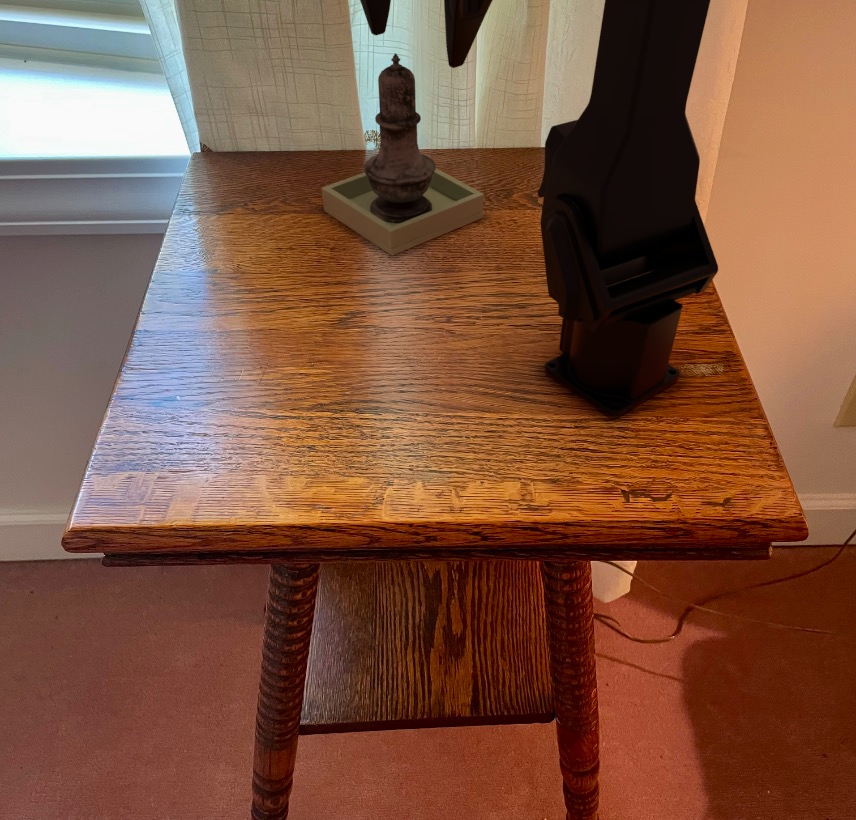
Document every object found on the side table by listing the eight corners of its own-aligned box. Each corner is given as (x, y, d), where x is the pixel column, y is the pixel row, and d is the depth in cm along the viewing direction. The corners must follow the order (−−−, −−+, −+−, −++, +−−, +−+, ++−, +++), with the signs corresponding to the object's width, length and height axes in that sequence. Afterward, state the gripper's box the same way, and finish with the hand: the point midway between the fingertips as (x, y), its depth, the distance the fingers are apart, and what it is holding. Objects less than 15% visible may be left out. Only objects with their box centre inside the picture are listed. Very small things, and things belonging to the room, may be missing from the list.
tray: (483, 217, 69) (484, 193, 68) (391, 256, 65) (390, 231, 64) (412, 178, 75) (412, 155, 73) (323, 211, 71) (321, 187, 69)
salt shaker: (383, 231, 67) (374, 73, 58) (355, 200, 70) (343, 47, 62) (447, 215, 69) (449, 59, 60) (417, 186, 72) (414, 35, 63)
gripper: (215, -235, 51) (256, 42, 62) (399, -207, 41) (408, 116, 53) (360, -248, 56) (373, 11, 67) (557, -226, 46) (533, 74, 57)
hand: (415, 49), depth 61 cm, fingers open, 9 cm apart
